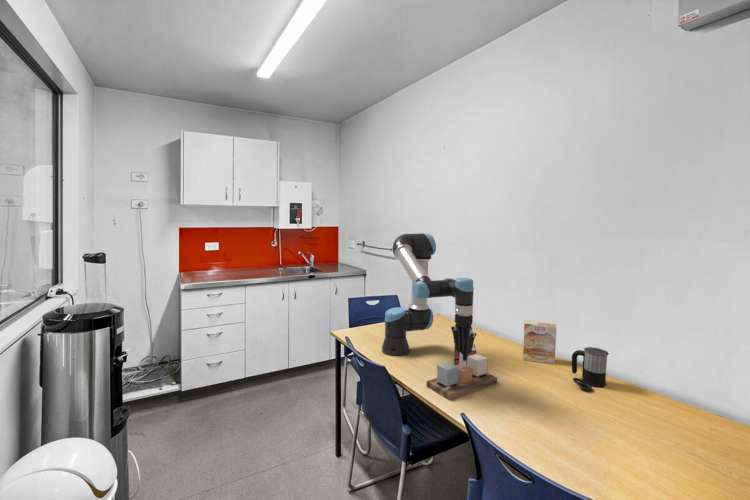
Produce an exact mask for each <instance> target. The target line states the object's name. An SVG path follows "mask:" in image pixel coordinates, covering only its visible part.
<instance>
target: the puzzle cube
mask: <svg viewBox="0 0 750 500" xmlns="http://www.w3.org/2000/svg"><path fill="white" fill-rule="evenodd" d="M453 346H454V351H453V352H454V355H453V365H455V366H456V365H459V352H458V350H457V349H455V345H454V344H453ZM476 348H477V347H476V345H475V343H473V347H472V352H471V353H468V354H467V357H468V356H471V355H475V354H477V350H476ZM466 365H467V360H466Z"/></svg>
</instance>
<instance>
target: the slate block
mask: <svg viewBox="0 0 750 500" xmlns="http://www.w3.org/2000/svg"><path fill="white" fill-rule="evenodd" d="M436 372H437V373H436V374H437V376H436V378H437V381H438V382H440V383H442V384H443V385H445V386H444V387H451V386H450V385H453V384H456V383H458V367H457V366H455V365H454V363H453V364H452V363H450V362H448V361H447V362H443V363H441V364H437V369H436Z"/></svg>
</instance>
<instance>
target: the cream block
mask: <svg viewBox="0 0 750 500" xmlns="http://www.w3.org/2000/svg"><path fill="white" fill-rule="evenodd" d="M487 360H488V358H487V357H486V356H483V355H481V354H478V353H476V354H475V355H471V356H468V357H467V366H469V367H471V368H473V375H475V376H476V377H479V376H480V375H483V374H486V372H487V367H488V365H487V363H488V361H487ZM487 373H488V372H487Z"/></svg>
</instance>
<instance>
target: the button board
mask: <svg viewBox="0 0 750 500" xmlns="http://www.w3.org/2000/svg"><path fill="white" fill-rule="evenodd" d="M474 376H475V375H473V376H472V381H471V382H468V383H465V384H461V383H459V382H458V383H456V384H453V385H450V386H449V387H450V388H445V387H446V386H445V385H443V384H442V383H440V382H438V381H437V377H435V378H433V379H429V380H426V387H427V388H428V389H429V390H432V391H433V392H434V393H436V394H438V395H440V396H441V397H443V398H444V399H446V400H449V401H452V400H454V399H457V398H459V397H462V396H465V395H468V394H470V393H474V392H476V391H478V390H481V389H484V388H486V387H489V386H492V385H495V384H498V376H495V375H493V374H491V373H488V372H486V374H483V375H480V376H478V378H476V377H474Z"/></svg>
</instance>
